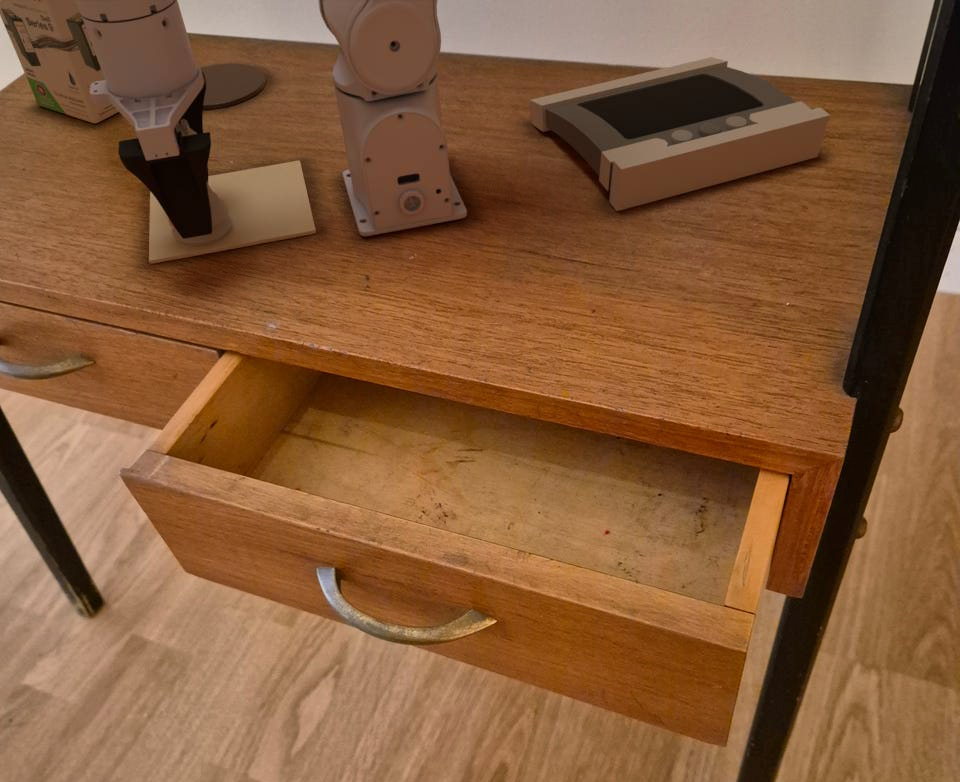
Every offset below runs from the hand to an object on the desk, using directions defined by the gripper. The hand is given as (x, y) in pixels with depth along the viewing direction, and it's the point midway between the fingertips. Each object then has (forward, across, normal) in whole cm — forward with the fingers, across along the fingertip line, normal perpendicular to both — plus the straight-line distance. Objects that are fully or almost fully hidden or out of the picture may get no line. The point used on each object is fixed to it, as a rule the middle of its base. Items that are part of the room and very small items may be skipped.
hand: (195, 207), depth 63 cm
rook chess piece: (+2, 0, 0) cm, 2 cm away
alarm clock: (+2, -2, +37) cm, 37 cm away
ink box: (+2, -27, -10) cm, 29 cm away
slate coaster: (+2, -26, +2) cm, 26 cm away
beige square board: (+2, -3, +2) cm, 4 cm away
